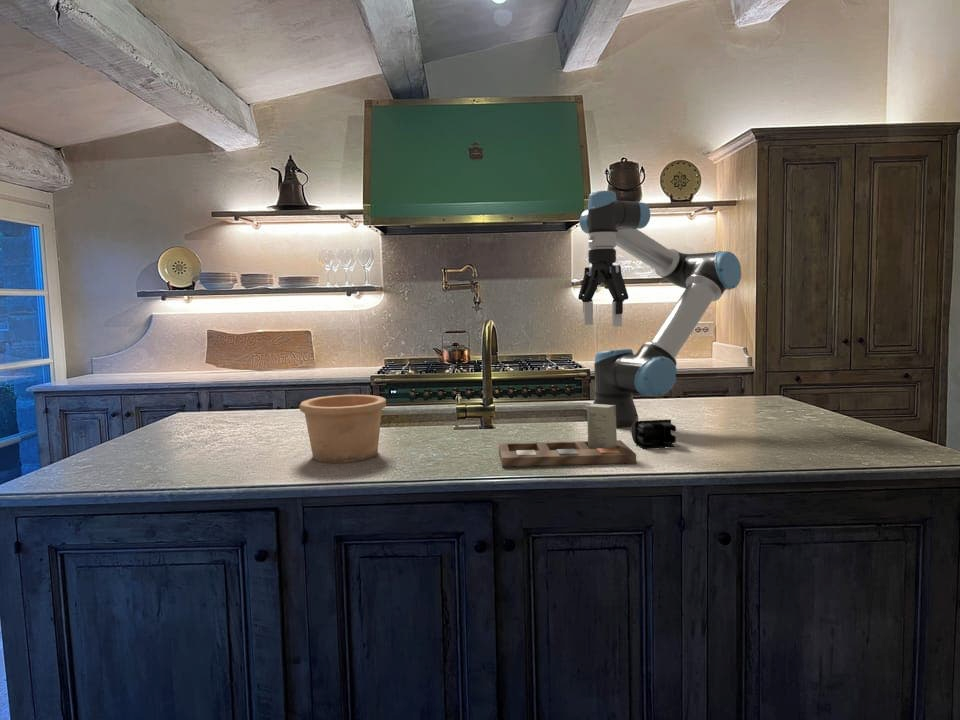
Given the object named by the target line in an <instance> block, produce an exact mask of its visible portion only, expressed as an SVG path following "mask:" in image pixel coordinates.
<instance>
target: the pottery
mask: <svg viewBox="0 0 960 720" xmlns="http://www.w3.org/2000/svg"><path fill="white" fill-rule="evenodd" d="M386 407H387V399H386V398H385V397H383V396H379V395H372V394H341V395H340V394H339V395H336V394H335V395H327V396H319V397H313V398H309V399H306V400H303V401H301V402H300V403H299V411H300V412H302V413H303V414H304V417H305V422H306V428H307V433H308V438H309V443H310V448H311V455H312V459H314V461H316V462H321V463H324V464H325V463H327V464H349V463H357V462H362V461H367V460H369V459H373V458H374V457H377V455H378V453H379V450H378V449H379V442H380V432H381V420H382V412H383V409H384V408H386Z"/></svg>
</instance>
